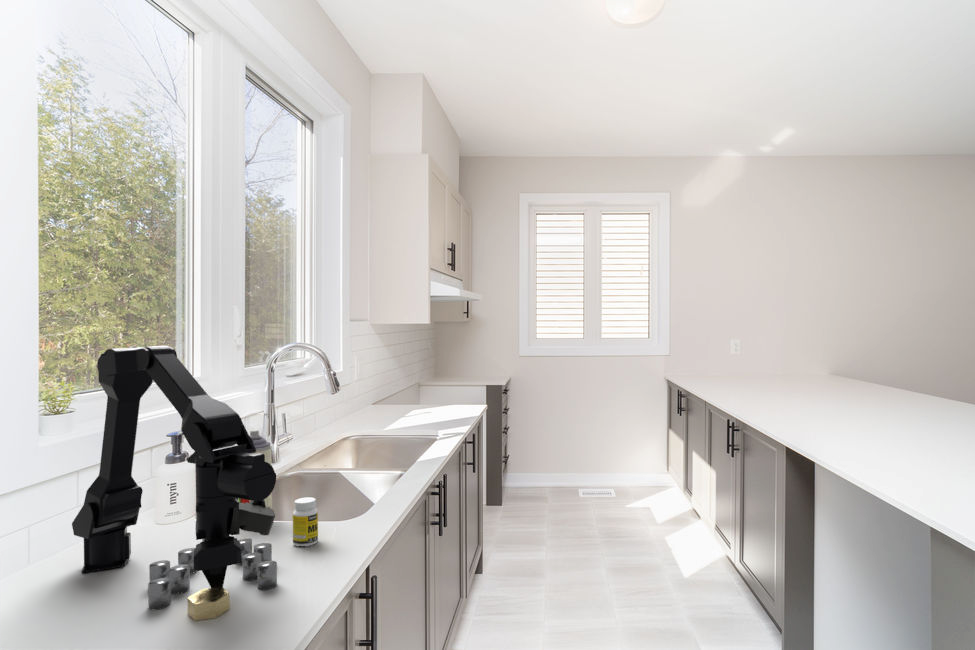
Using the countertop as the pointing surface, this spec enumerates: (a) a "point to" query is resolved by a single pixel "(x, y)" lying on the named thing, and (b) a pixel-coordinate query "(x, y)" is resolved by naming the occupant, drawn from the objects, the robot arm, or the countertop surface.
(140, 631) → the countertop surface
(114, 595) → the countertop surface
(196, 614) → the wooden star-faceted hexagon
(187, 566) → the spacers
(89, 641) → the countertop surface
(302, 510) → the supplement bottle
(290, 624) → the countertop surface
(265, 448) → the aerosol can
